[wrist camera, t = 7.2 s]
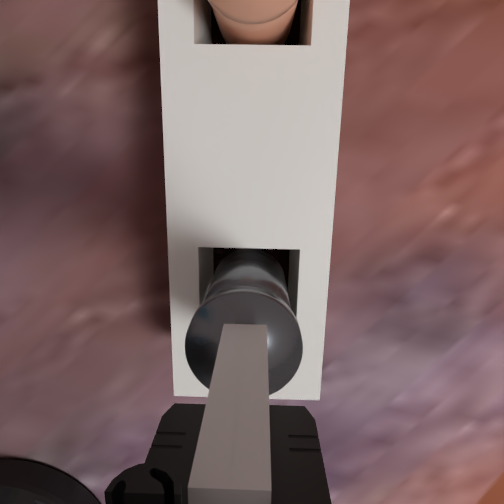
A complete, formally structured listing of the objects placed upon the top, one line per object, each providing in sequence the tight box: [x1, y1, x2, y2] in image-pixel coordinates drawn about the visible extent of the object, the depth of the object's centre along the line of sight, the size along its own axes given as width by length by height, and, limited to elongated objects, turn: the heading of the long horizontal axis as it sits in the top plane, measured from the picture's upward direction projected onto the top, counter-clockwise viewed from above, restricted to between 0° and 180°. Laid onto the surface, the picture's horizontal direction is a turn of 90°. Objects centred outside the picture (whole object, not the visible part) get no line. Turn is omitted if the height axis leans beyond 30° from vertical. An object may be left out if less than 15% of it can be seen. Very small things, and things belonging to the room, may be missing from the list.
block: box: [158, 0, 350, 400], centre depth 20 cm, size 8×26×6 cm, turn 179°
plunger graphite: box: [185, 248, 303, 395], centre depth 18 cm, size 4×4×7 cm
